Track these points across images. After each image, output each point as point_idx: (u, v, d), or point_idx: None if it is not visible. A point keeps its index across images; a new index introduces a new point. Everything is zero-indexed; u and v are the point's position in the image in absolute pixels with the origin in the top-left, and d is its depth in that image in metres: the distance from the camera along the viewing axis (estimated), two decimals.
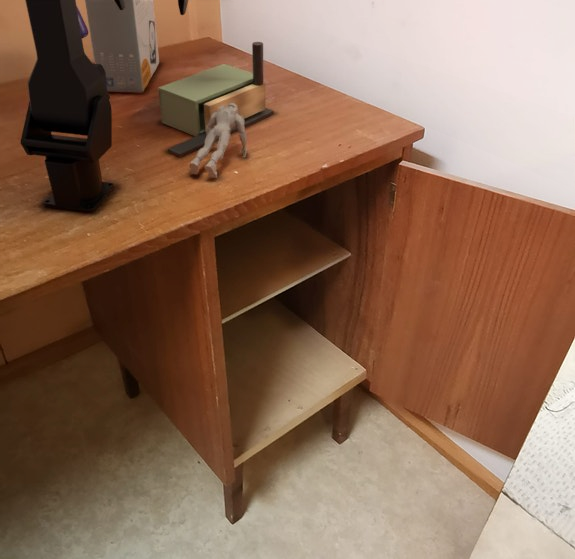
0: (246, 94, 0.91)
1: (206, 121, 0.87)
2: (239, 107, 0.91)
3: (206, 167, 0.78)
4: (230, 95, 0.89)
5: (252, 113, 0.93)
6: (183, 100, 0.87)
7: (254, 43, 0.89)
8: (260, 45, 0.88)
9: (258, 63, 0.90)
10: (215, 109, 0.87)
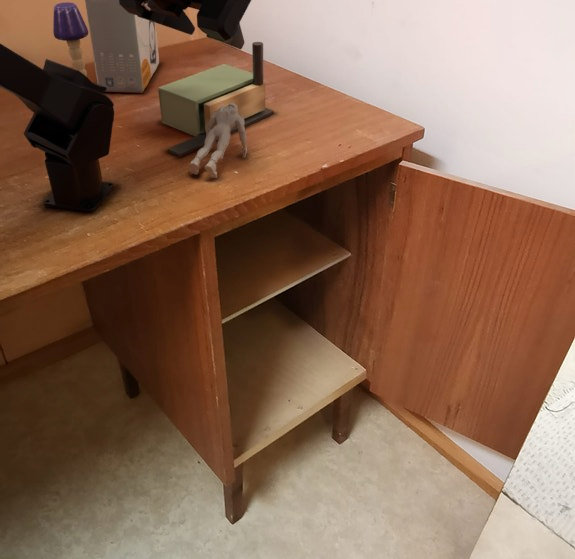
0: (246, 94, 0.91)
1: (206, 121, 0.87)
2: (239, 107, 0.91)
3: (206, 167, 0.78)
4: (230, 95, 0.89)
5: (252, 113, 0.93)
6: (183, 100, 0.87)
7: (254, 43, 0.89)
8: (260, 45, 0.88)
9: (258, 63, 0.90)
10: (215, 109, 0.87)
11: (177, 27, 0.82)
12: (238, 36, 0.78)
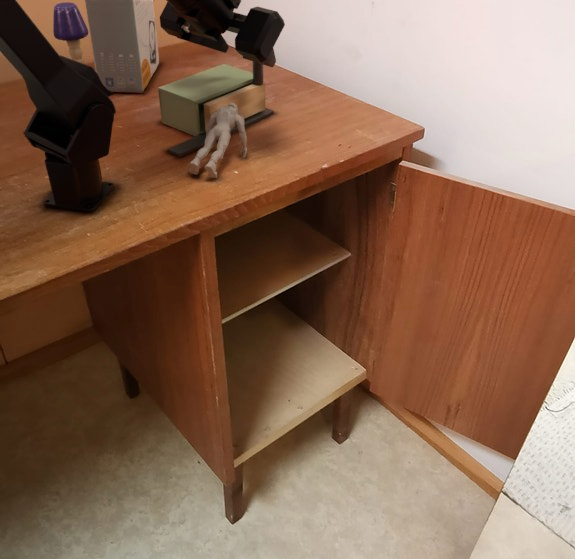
0: (246, 94, 0.91)
1: (206, 121, 0.87)
2: (239, 107, 0.91)
3: (206, 167, 0.78)
4: (230, 95, 0.89)
5: (252, 113, 0.93)
6: (183, 100, 0.87)
7: None
8: None
9: (258, 63, 0.90)
10: (215, 109, 0.87)
11: (213, 46, 0.88)
12: (271, 56, 0.84)
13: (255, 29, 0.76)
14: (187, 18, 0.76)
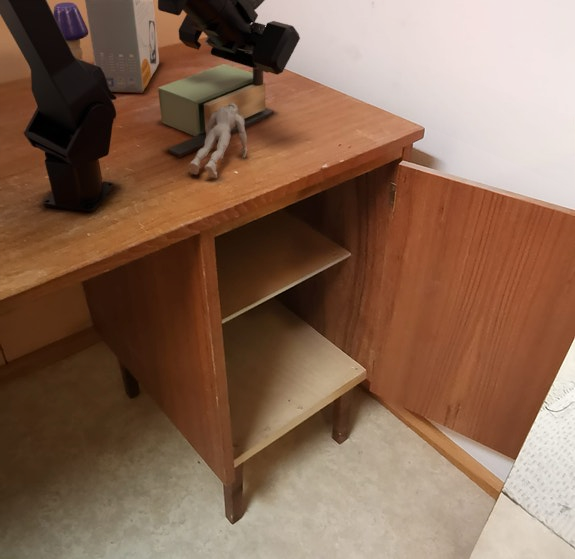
0: (246, 94, 0.91)
1: (206, 121, 0.87)
2: (239, 107, 0.91)
3: (206, 167, 0.78)
4: (230, 95, 0.89)
5: (252, 113, 0.93)
6: (183, 100, 0.87)
7: None
8: None
9: None
10: (215, 109, 0.87)
11: None
12: None
13: (272, 43, 0.80)
14: (207, 32, 0.80)
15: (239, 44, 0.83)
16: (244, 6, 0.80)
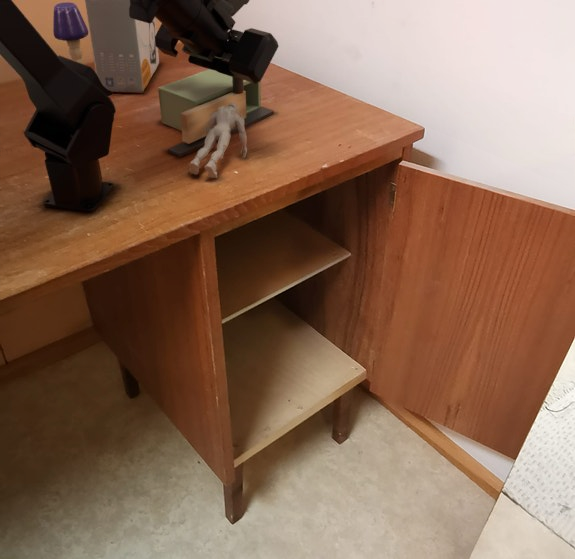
0: (226, 103, 0.88)
1: (183, 130, 0.85)
2: None
3: (206, 167, 0.78)
4: (208, 104, 0.86)
5: None
6: (183, 100, 0.87)
7: None
8: None
9: None
10: (193, 118, 0.84)
11: None
12: None
13: (249, 51, 0.77)
14: (182, 40, 0.77)
15: (216, 52, 0.80)
16: (221, 12, 0.77)
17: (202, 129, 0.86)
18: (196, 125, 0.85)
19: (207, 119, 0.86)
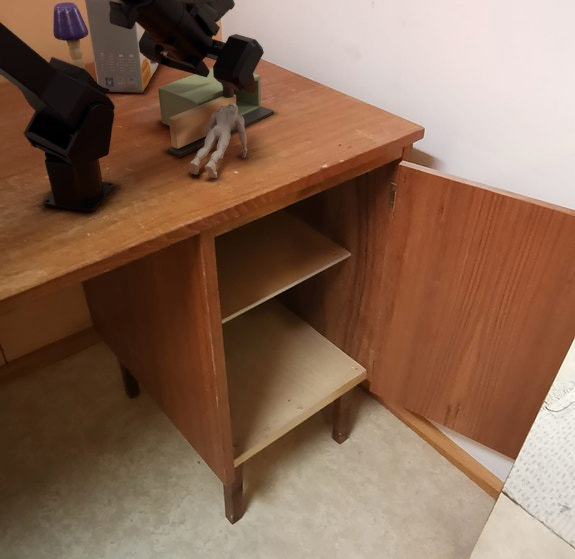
0: (216, 107, 0.87)
1: (172, 135, 0.83)
2: (208, 121, 0.87)
3: (206, 167, 0.78)
4: (198, 108, 0.85)
5: None
6: (183, 100, 0.87)
7: None
8: None
9: None
10: (181, 123, 0.83)
11: (193, 71, 0.87)
12: (251, 82, 0.83)
13: (233, 57, 0.75)
14: (164, 46, 0.75)
15: (200, 58, 0.78)
16: (204, 18, 0.76)
17: (191, 134, 0.85)
18: (185, 130, 0.84)
19: (196, 123, 0.85)
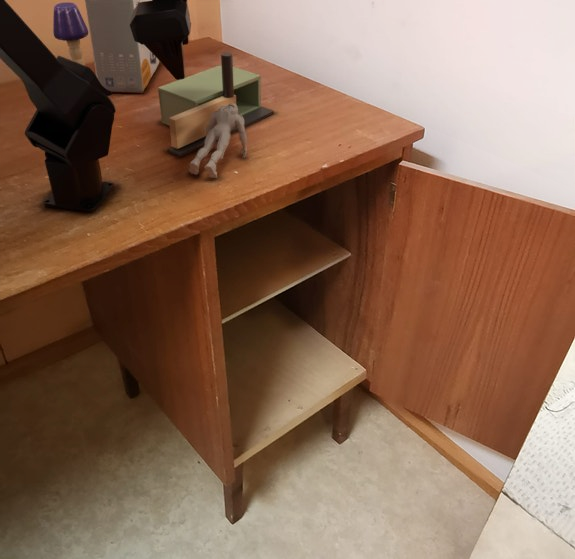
0: (216, 107, 0.87)
1: (172, 135, 0.83)
2: (208, 121, 0.87)
3: (206, 167, 0.78)
4: (198, 108, 0.85)
5: None
6: (183, 100, 0.87)
7: (223, 54, 0.85)
8: (229, 56, 0.84)
9: (227, 75, 0.86)
10: (181, 123, 0.83)
11: None
12: (176, 64, 0.73)
13: (153, 9, 0.66)
14: None
15: None
16: None
17: (191, 134, 0.85)
18: (185, 130, 0.84)
19: (196, 123, 0.85)
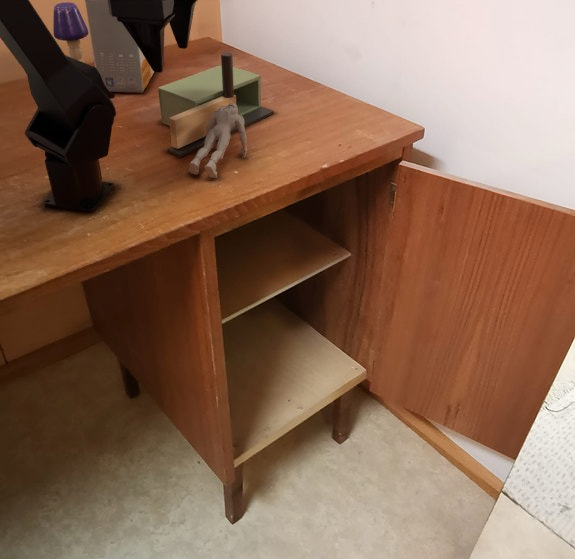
0: (216, 107, 0.87)
1: (172, 135, 0.83)
2: (208, 121, 0.87)
3: (206, 167, 0.78)
4: (198, 108, 0.85)
5: None
6: (183, 100, 0.87)
7: (223, 54, 0.85)
8: (229, 56, 0.84)
9: (227, 75, 0.86)
10: (181, 123, 0.83)
11: (172, 25, 0.79)
12: (153, 54, 0.71)
13: None
14: None
15: None
16: None
17: (191, 134, 0.85)
18: (185, 130, 0.84)
19: (196, 123, 0.85)
